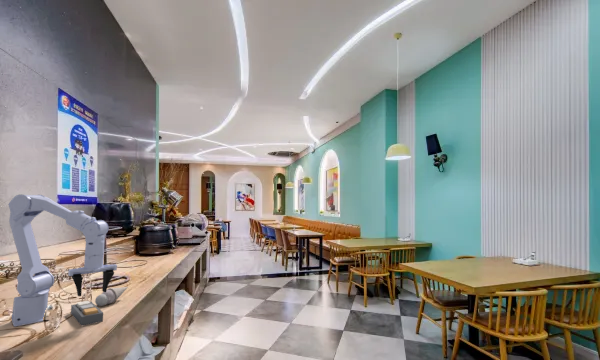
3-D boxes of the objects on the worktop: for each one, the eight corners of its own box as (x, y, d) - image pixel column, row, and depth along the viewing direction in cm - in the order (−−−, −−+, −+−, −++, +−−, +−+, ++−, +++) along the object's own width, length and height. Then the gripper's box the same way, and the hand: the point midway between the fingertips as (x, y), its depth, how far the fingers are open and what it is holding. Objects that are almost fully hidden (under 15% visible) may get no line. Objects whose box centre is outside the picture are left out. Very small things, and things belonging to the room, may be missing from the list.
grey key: (82, 311, 115) (82, 308, 115) (79, 309, 118) (80, 306, 118) (93, 309, 118) (94, 306, 118) (91, 307, 120) (91, 303, 120)
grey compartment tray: (81, 326, 110) (81, 317, 110) (70, 313, 121) (71, 304, 121) (102, 321, 114) (103, 312, 114) (90, 309, 126) (91, 301, 126)
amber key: (85, 315, 112) (85, 312, 112) (83, 313, 114) (83, 309, 114) (97, 313, 114) (97, 309, 114) (94, 310, 117) (95, 307, 117)
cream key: (78, 308, 119) (79, 305, 119) (76, 305, 121) (76, 302, 121) (90, 306, 121) (90, 303, 121) (87, 303, 124) (88, 300, 124)
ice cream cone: (129, 296, 142) (98, 313, 128) (120, 286, 144) (88, 302, 129) (135, 287, 141) (104, 303, 127) (126, 277, 142) (94, 292, 128)
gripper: (72, 258, 108) (69, 300, 107) (120, 254, 118) (118, 292, 117) (68, 255, 112) (65, 295, 112) (114, 251, 123) (112, 288, 122)
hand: (92, 293), depth 115 cm, fingers open, 7 cm apart
